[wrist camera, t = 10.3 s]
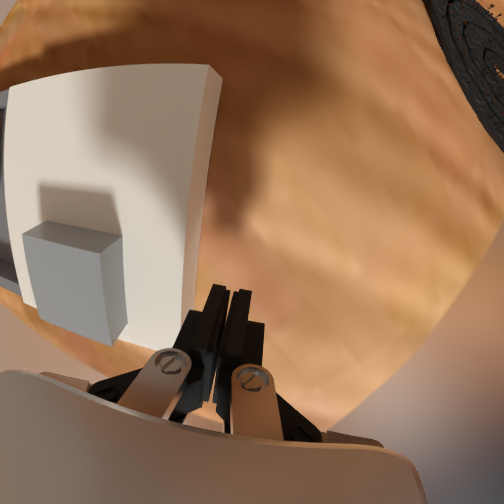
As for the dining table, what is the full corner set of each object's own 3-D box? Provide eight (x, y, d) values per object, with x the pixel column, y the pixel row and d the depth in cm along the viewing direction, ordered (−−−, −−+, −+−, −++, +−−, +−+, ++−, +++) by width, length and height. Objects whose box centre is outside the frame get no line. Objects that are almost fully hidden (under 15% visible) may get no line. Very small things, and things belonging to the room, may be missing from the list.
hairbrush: (314, -133, 2) (589, 138, 6) (312, -105, 5) (558, 132, 9) (222, -96, 5) (553, 217, 9) (234, -64, 8) (519, 201, 12)
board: (42, 87, 12) (9, 86, 9) (223, 78, 11) (209, 64, 9) (47, 282, 17) (24, 302, 14) (193, 323, 17) (180, 356, 14)
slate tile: (46, 220, 12) (21, 233, 10) (122, 235, 12) (99, 253, 10) (58, 299, 14) (40, 318, 12) (127, 322, 14) (112, 346, 12)
